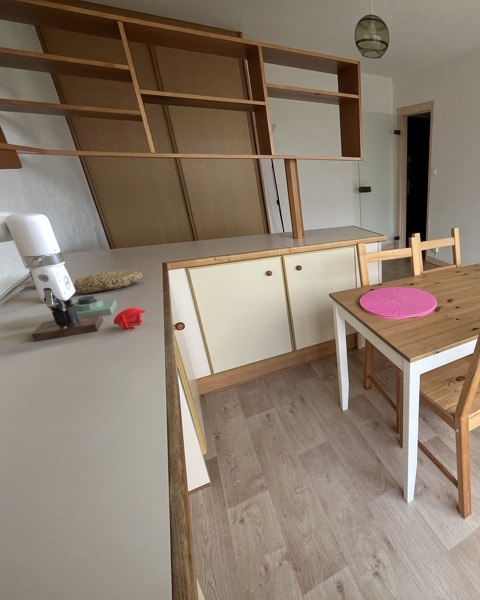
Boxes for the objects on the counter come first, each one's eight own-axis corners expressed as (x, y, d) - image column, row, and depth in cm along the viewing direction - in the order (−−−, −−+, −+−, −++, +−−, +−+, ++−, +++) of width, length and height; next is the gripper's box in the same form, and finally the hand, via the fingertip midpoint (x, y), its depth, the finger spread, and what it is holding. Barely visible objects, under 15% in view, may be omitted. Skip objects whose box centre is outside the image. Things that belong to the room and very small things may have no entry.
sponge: (79, 300, 118) (141, 282, 127) (67, 281, 116) (131, 264, 125) (90, 296, 129) (147, 279, 138) (79, 278, 127) (137, 262, 136)
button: (78, 306, 101) (76, 301, 101) (81, 302, 104) (79, 297, 104) (94, 303, 103) (92, 299, 103) (97, 300, 107) (95, 295, 106)
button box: (62, 322, 98) (57, 310, 97) (70, 311, 106) (66, 300, 105) (112, 314, 104) (108, 303, 103) (116, 304, 112) (113, 294, 111)
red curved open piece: (115, 334, 92) (109, 315, 90) (116, 326, 96) (110, 309, 94) (149, 327, 97) (144, 309, 94) (149, 320, 101) (144, 303, 99)
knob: (76, 324, 92) (70, 307, 90) (55, 327, 90) (48, 310, 88) (80, 318, 95) (74, 302, 93) (60, 321, 93) (53, 305, 91)
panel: (35, 342, 87) (31, 333, 86) (46, 329, 94) (42, 321, 93) (97, 331, 93) (94, 323, 92) (103, 320, 100) (100, 312, 99)
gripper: (52, 265, 81) (77, 328, 87) (71, 252, 94) (91, 308, 101) (9, 269, 77) (39, 334, 84) (35, 255, 90) (59, 312, 97)
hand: (67, 319), depth 92 cm, fingers closed on knob, 4 cm apart
